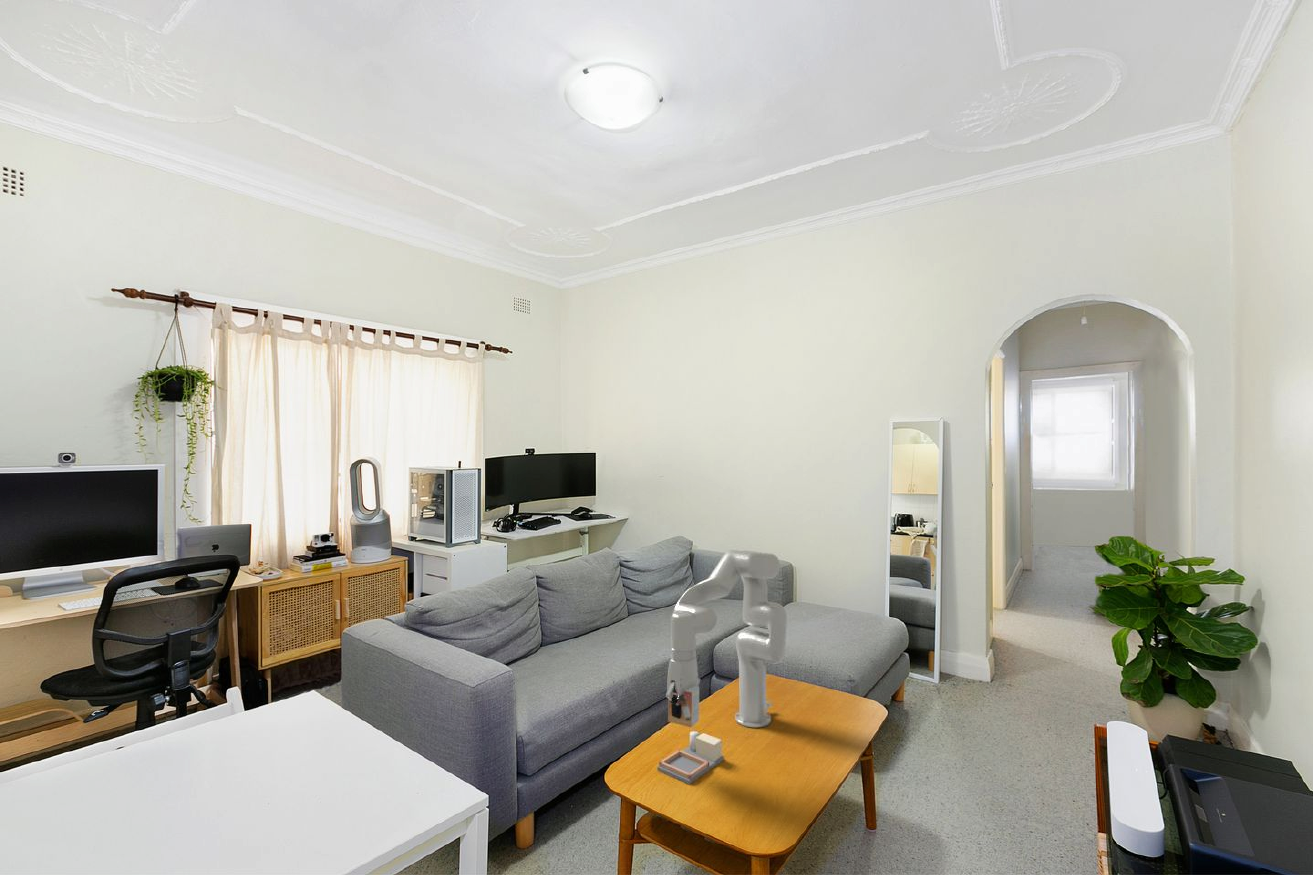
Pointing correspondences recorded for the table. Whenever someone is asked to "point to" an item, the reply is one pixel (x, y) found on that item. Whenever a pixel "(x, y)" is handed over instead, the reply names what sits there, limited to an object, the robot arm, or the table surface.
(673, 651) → the robot arm
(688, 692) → the small box
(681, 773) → the assembly board
